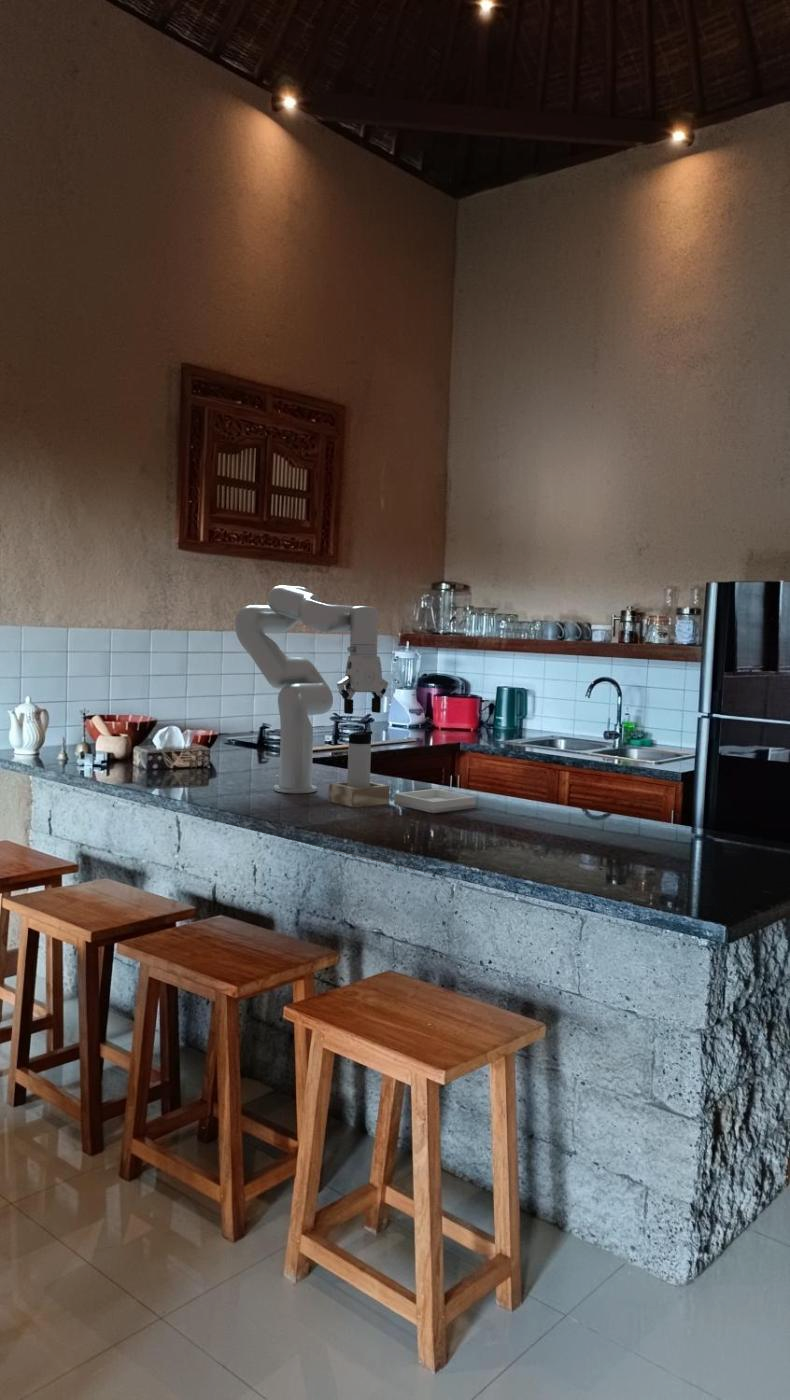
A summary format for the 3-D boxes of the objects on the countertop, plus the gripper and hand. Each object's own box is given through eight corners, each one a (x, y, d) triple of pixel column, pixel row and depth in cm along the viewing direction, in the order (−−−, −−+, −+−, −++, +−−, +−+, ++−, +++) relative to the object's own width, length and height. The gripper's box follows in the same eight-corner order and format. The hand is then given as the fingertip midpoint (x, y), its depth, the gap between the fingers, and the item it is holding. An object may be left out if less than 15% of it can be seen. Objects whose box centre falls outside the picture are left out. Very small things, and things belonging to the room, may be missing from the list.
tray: (393, 803, 283) (394, 793, 283) (436, 798, 293) (436, 788, 293) (432, 813, 271) (433, 802, 271) (475, 807, 281) (475, 796, 281)
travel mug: (369, 804, 281) (372, 732, 279) (346, 803, 281) (348, 731, 279) (370, 800, 287) (373, 730, 285) (347, 800, 287) (349, 729, 286)
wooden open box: (328, 800, 284) (329, 783, 284) (362, 797, 292) (362, 780, 292) (355, 807, 275) (355, 789, 275) (388, 803, 283) (389, 785, 283)
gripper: (347, 651, 272) (346, 715, 273) (396, 651, 283) (394, 712, 284) (330, 650, 278) (329, 713, 279) (379, 651, 289) (377, 711, 290)
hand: (362, 712), depth 282 cm, fingers open, 9 cm apart
